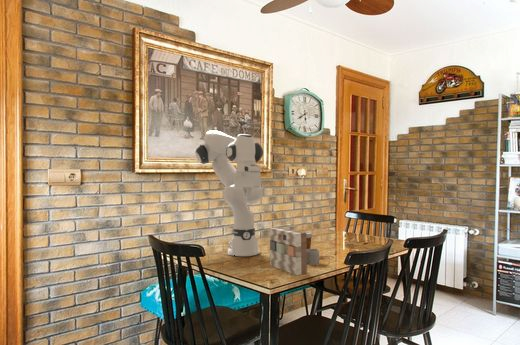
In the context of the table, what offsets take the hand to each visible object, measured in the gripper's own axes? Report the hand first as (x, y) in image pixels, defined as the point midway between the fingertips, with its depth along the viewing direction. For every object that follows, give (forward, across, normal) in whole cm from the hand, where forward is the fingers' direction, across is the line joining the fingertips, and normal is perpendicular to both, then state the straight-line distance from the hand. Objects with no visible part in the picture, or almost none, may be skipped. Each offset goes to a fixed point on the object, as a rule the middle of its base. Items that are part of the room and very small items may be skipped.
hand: (247, 197), depth 186 cm
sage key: (+26, +12, +11) cm, 30 cm away
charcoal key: (+25, +4, +12) cm, 29 cm away
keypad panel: (+34, +12, +14) cm, 38 cm away
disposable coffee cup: (+34, -9, +39) cm, 53 cm away
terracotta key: (+26, +19, +12) cm, 34 cm away
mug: (+34, +9, +29) cm, 46 cm away
